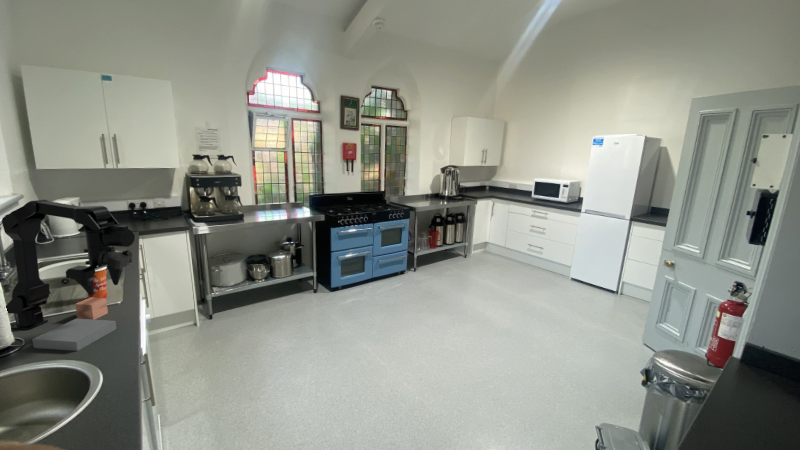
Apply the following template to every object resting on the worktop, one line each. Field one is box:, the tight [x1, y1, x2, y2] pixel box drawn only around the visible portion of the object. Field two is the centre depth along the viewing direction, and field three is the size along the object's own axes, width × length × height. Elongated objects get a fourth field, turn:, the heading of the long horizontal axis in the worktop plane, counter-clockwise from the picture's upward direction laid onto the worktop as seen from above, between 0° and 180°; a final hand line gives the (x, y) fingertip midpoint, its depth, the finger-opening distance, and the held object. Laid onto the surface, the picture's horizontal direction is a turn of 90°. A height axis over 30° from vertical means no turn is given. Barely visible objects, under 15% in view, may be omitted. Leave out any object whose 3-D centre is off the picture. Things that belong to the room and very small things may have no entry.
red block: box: [75, 297, 109, 320], centre depth 127 cm, size 6×6×6 cm
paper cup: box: [85, 264, 108, 299], centre depth 142 cm, size 8×8×14 cm
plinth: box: [32, 317, 117, 352], centre depth 113 cm, size 14×14×3 cm
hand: (104, 289), depth 116 cm, fingers open, 9 cm apart
